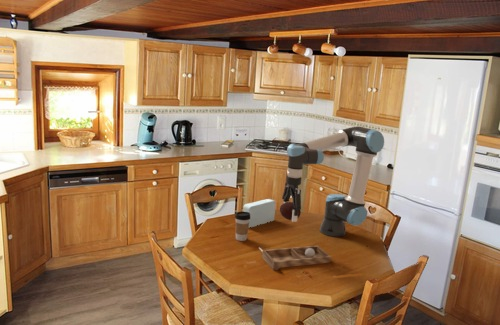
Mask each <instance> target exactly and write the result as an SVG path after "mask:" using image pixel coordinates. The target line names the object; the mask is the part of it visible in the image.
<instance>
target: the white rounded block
mask: <svg viewBox="0 0 500 325" xmlns="http://www.w3.org/2000/svg"><path fill="white" fill-rule="evenodd" d="M276 204H277V203H276V200H274V199H271V198H266V199H261V200H257V201H253V202H248V203H244V205H243V207H242V208H243V209H242V212H249V213H250V219H249V227H248V229H251V228H254V227H258V226H261V225H264V224H267V222H268V223H270V221H271V222H273V221H274V220H275V215H276V214H275V213H276ZM260 224H261V225H260ZM257 225H258V226H257ZM250 227H251V228H250Z"/></svg>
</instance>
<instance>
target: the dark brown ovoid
mask: <svg viewBox="0 0 500 325" xmlns="http://www.w3.org/2000/svg"><path fill="white" fill-rule="evenodd" d="M293 208H294V206H293V201H287V202H286V203H284V202H283V203H282V204H281V205H280V206H279V212H280V215H281V216H282V217H283V218H285V220H289V221H292V213H293ZM301 213H302V212H301V210H298V217H297V220H298V219H299V218H301Z"/></svg>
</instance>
